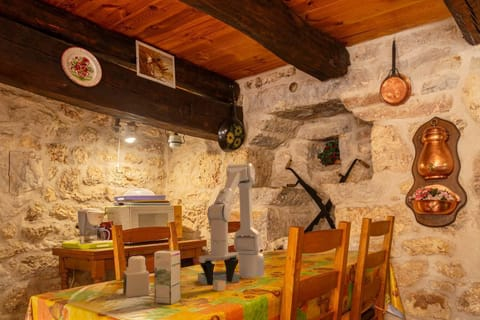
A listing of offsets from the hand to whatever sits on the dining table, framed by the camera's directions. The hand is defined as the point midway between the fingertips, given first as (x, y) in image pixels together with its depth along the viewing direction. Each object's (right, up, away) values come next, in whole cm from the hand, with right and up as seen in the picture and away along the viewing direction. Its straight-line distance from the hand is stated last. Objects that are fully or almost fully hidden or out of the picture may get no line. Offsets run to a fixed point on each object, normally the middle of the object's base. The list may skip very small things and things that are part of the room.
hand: (219, 283), depth 124 cm
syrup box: (-15, -1, -14) cm, 20 cm away
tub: (-1, -4, +13) cm, 14 cm away
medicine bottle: (-27, -3, -3) cm, 27 cm away
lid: (+2, -3, +1) cm, 4 cm away
